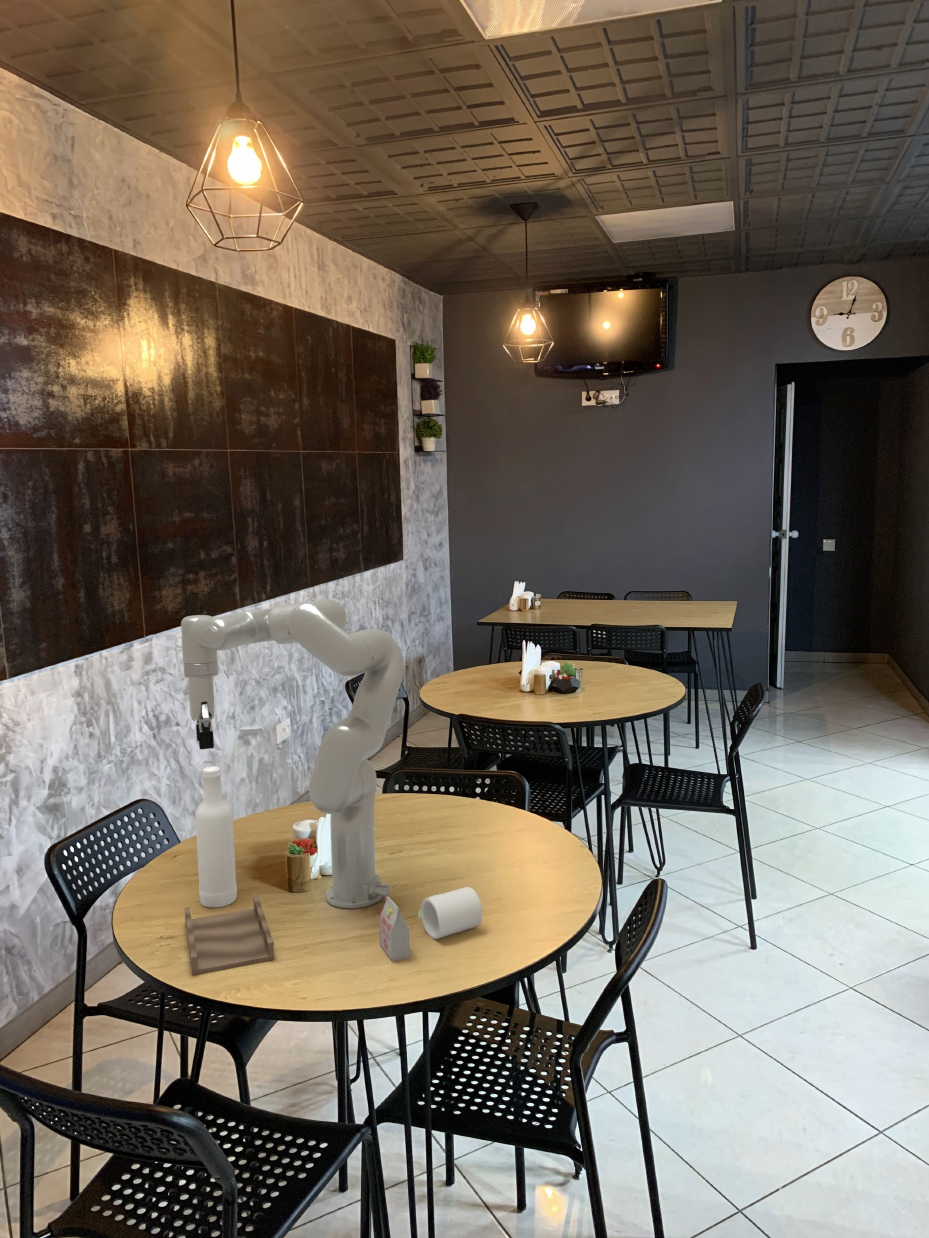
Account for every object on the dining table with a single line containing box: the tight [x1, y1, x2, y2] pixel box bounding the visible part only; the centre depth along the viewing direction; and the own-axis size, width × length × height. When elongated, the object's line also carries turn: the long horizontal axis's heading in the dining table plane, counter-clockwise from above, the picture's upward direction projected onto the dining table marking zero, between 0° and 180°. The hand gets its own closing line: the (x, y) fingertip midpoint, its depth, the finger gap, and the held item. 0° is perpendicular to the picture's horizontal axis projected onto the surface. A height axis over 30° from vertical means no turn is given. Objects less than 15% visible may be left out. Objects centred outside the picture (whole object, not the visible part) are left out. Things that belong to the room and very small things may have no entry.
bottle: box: [194, 765, 238, 909], centre depth 192 cm, size 8×8×30 cm
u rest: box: [184, 895, 275, 976], centre depth 175 cm, size 22×15×4 cm
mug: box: [420, 886, 483, 940], centre depth 180 cm, size 12×10×8 cm
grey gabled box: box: [378, 895, 411, 962], centre depth 170 cm, size 4×7×10 cm, turn 24°
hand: (205, 743), depth 204 cm, fingers open, 7 cm apart
